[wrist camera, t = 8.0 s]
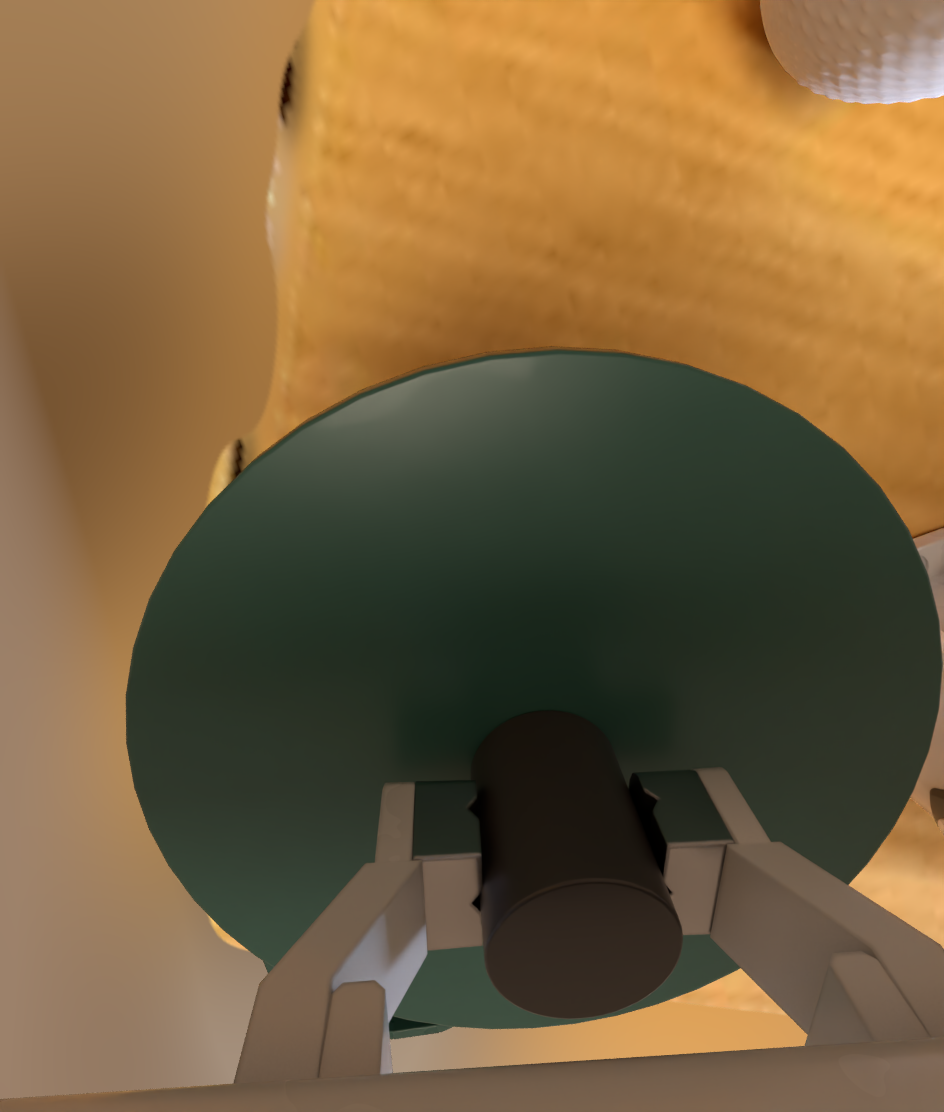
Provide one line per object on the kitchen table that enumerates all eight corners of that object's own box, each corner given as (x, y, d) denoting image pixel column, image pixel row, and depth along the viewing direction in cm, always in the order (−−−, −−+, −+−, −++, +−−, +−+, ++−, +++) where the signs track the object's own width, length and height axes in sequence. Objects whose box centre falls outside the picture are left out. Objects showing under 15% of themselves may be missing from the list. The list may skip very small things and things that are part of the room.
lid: (454, 121, 9) (473, -47, 4) (1048, 649, 13) (1370, 837, 8) (23, 805, 13) (-191, 1071, 8) (575, 1049, 17) (625, 1319, 12)
